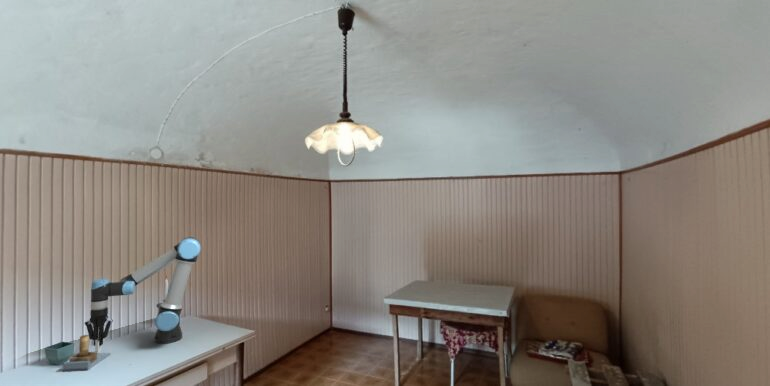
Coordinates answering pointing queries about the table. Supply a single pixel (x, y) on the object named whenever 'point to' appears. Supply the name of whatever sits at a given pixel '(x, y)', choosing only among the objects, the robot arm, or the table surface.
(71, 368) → the board
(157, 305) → the candlestick
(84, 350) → the dowel
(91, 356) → the block
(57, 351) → the flower pot
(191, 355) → the table surface
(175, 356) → the table surface
